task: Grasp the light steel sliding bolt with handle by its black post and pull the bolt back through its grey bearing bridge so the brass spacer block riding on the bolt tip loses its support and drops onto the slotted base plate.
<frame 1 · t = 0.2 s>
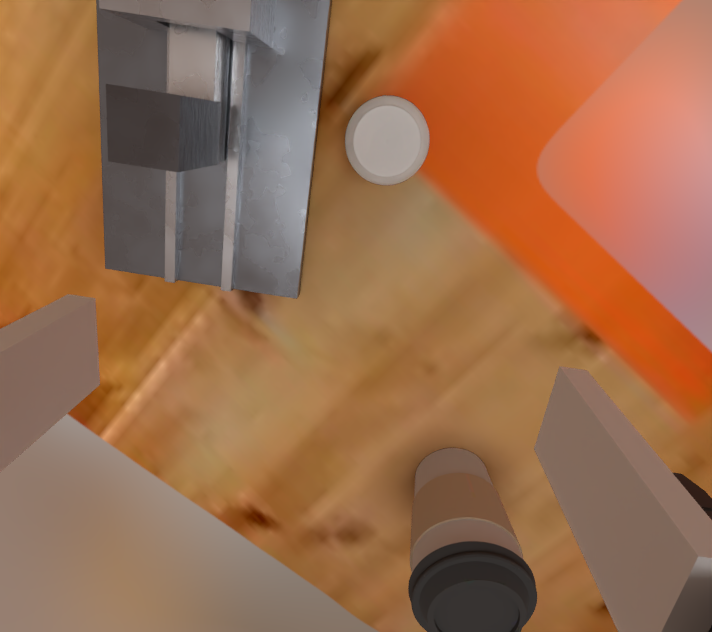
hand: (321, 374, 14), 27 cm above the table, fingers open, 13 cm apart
sliding bolt with handle: (180, 23, 30), point 6 cm above the table, slide at 0.0 cm, touching spacer
slotted base plate: (213, 101, 37), on the table
coffee cup: (450, 476, 48), on the table
pill bottle: (387, 140, 38), on the table
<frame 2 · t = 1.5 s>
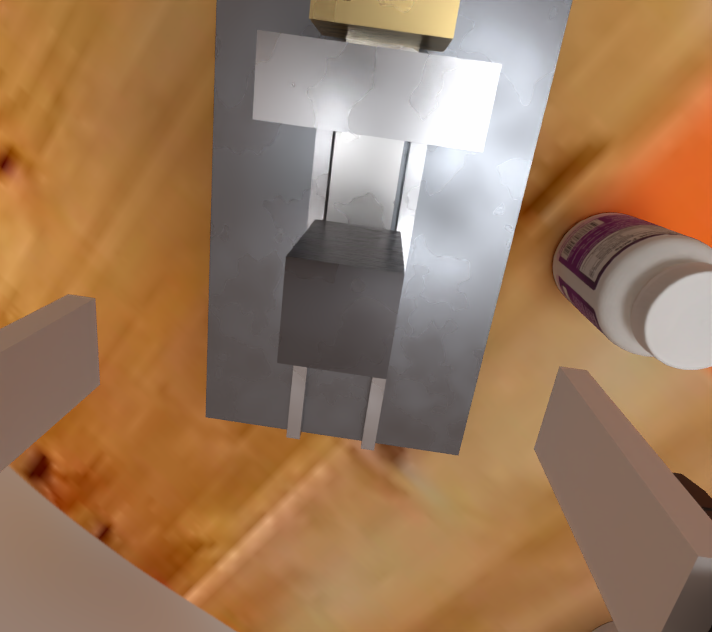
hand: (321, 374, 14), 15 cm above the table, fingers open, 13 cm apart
sliding bolt with handle: (368, 135, 20), point 6 cm above the table, slide at 0.0 cm, touching spacer
slotted base plate: (363, 209, 27), on the table
pill bottle: (598, 258, 28), on the table
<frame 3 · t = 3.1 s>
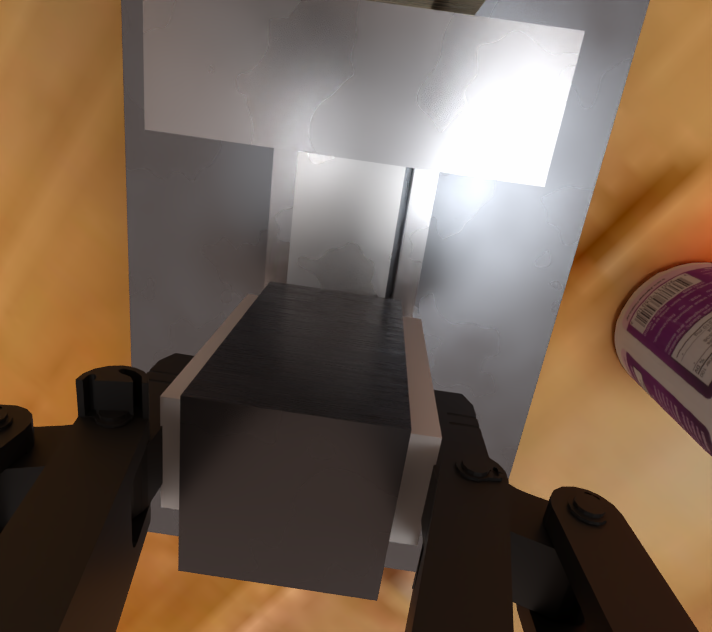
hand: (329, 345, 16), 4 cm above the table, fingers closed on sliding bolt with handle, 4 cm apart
sliding bolt with handle: (347, 156, 12), point 7 cm above the table, slide at 0.0 cm, touching gripper, spacer
slotted base plate: (346, 255, 19), on the table
pill bottle: (678, 322, 20), on the table
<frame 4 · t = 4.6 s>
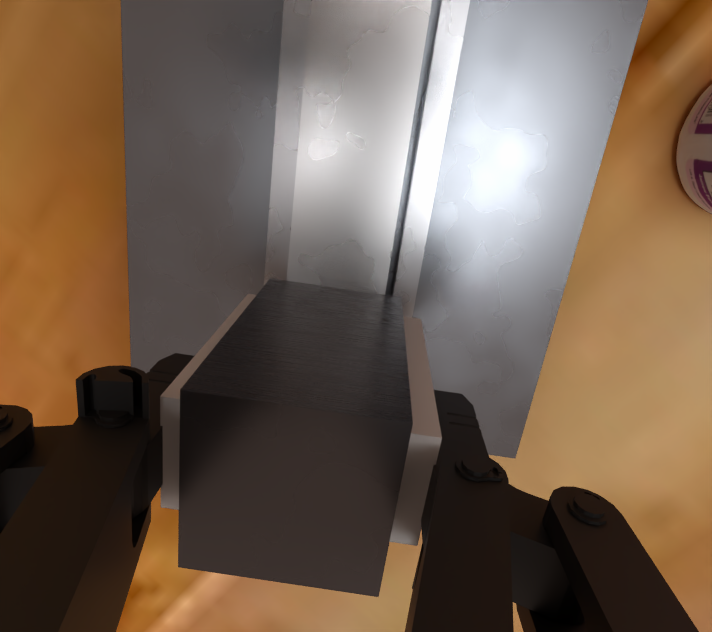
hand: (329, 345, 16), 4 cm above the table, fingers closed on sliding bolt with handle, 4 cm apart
sliding bolt with handle: (347, 151, 12), point 6 cm above the table, slide at 6.8 cm, touching gripper
slotted base plate: (371, 59, 17), on the table
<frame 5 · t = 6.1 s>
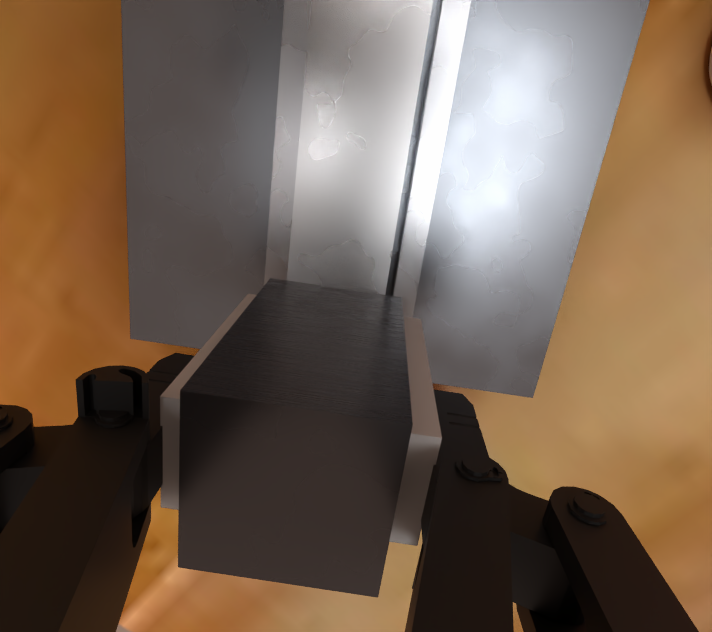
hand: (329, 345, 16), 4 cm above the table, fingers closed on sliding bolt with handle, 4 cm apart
sliding bolt with handle: (347, 151, 12), point 6 cm above the table, slide at 9.6 cm, touching gripper
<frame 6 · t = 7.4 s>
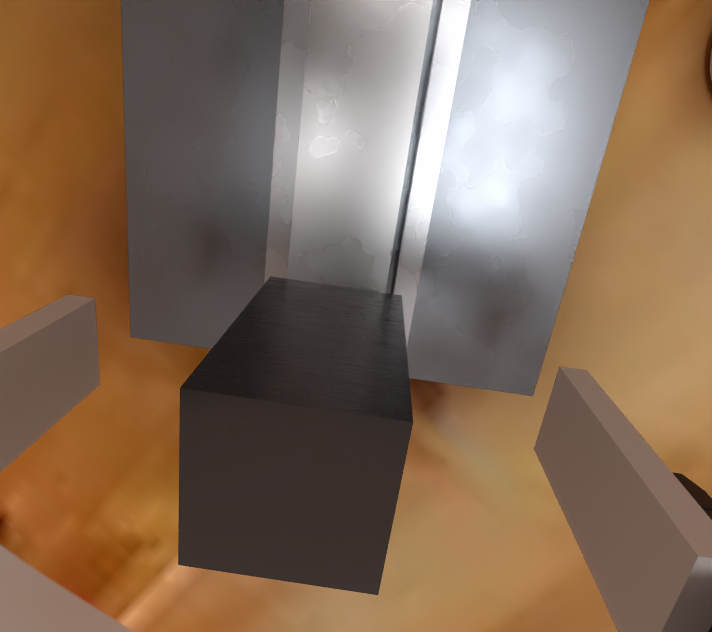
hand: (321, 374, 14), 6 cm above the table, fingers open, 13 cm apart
sliding bolt with handle: (347, 149, 12), point 6 cm above the table, slide at 9.6 cm
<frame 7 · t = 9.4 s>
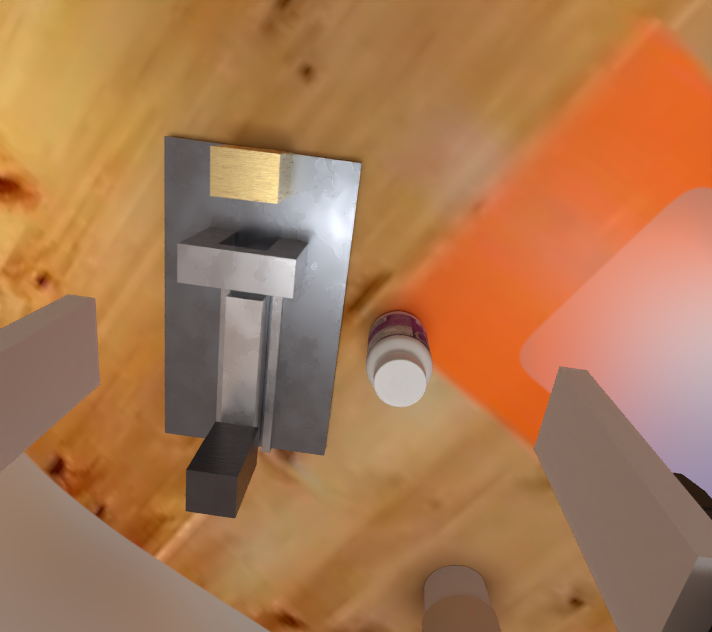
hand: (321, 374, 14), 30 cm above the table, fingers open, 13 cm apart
sliding bolt with handle: (232, 396, 42), point 7 cm above the table, slide at 9.6 cm
slotted base plate: (255, 308, 46), on the table
spacer: (252, 196, 39), point 4 cm above the table, tilted 90°, touching slotted base plate
coffee cup: (454, 587, 56), on the table
pill bottle: (397, 335, 46), on the table
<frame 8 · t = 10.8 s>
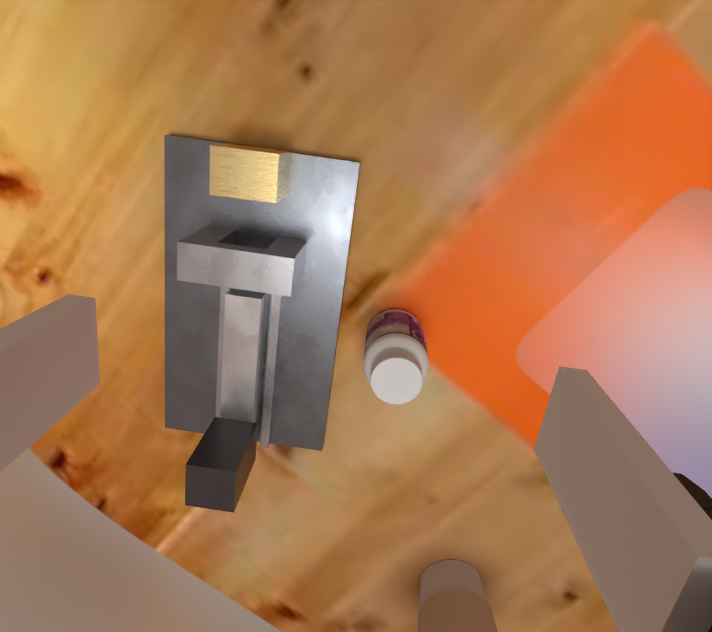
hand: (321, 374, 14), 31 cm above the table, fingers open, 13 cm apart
sliding bolt with handle: (231, 392, 42), point 6 cm above the table, slide at 9.6 cm
slotted base plate: (255, 305, 47), on the table
spacer: (251, 195, 39), point 4 cm above the table, tilted 90°, touching slotted base plate
coffee cup: (450, 580, 57), on the table
pill bottle: (394, 333, 47), on the table
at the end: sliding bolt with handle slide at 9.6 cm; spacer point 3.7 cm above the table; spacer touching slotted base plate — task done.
